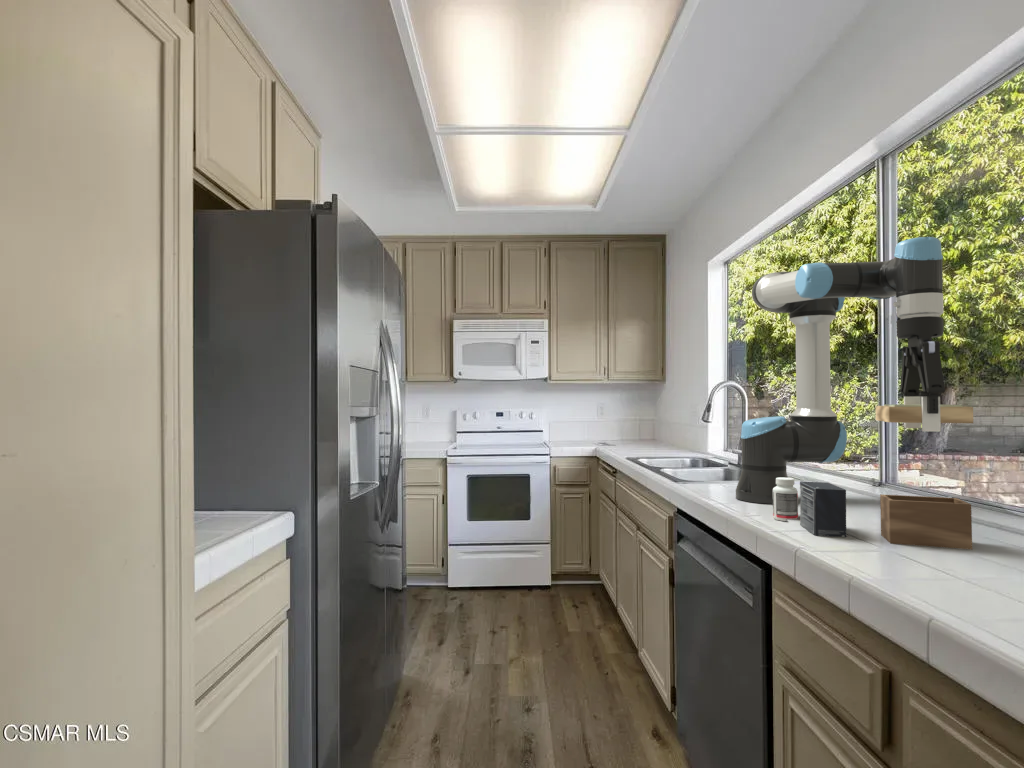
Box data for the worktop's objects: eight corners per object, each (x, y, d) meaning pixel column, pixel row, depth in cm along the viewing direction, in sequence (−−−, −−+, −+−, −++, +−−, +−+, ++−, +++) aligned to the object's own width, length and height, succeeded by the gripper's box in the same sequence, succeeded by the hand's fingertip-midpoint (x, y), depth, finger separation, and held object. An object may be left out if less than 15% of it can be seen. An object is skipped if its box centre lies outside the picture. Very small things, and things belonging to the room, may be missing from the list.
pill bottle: (803, 521, 133) (802, 479, 133) (783, 522, 131) (783, 480, 132) (787, 516, 138) (786, 476, 138) (768, 517, 137) (767, 477, 137)
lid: (875, 420, 119) (875, 404, 119) (951, 420, 114) (951, 404, 114) (889, 422, 109) (889, 405, 109) (973, 423, 104) (973, 405, 104)
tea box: (881, 538, 116) (880, 494, 117) (957, 543, 112) (956, 498, 112) (890, 546, 110) (889, 500, 110) (972, 553, 105) (971, 504, 105)
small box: (849, 541, 115) (848, 489, 115) (814, 539, 116) (813, 488, 116) (830, 529, 125) (830, 481, 125) (799, 527, 126) (798, 480, 127)
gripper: (882, 325, 124) (883, 426, 124) (915, 310, 102) (917, 433, 102) (922, 323, 121) (924, 426, 121) (965, 308, 100) (968, 433, 99)
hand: (921, 429), depth 111 cm, fingers closed on lid, 10 cm apart
